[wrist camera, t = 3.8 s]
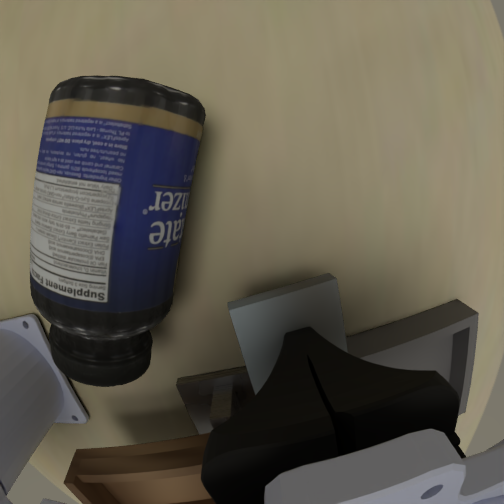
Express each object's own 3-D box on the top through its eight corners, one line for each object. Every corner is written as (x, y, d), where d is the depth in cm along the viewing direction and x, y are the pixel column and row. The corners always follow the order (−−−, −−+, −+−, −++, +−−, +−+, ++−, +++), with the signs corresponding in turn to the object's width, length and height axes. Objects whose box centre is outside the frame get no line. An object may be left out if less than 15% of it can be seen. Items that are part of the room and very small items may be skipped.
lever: (120, 501, 13) (115, 533, 11) (17, 352, 11) (-10, 380, 8) (352, 453, 14) (370, 484, 12) (328, 272, 12) (358, 293, 10)
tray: (351, 432, 18) (360, 455, 15) (340, 338, 16) (352, 360, 14) (450, 394, 17) (465, 411, 15) (457, 299, 16) (478, 312, 13)
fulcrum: (215, 457, 18) (212, 494, 15) (177, 378, 16) (165, 416, 13) (290, 445, 18) (296, 483, 14) (267, 361, 16) (271, 400, 13)
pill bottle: (217, 116, 13) (178, 339, 16) (97, 104, 13) (75, 312, 16) (191, 74, 7) (145, 418, 10) (21, 74, 7) (11, 367, 10)
